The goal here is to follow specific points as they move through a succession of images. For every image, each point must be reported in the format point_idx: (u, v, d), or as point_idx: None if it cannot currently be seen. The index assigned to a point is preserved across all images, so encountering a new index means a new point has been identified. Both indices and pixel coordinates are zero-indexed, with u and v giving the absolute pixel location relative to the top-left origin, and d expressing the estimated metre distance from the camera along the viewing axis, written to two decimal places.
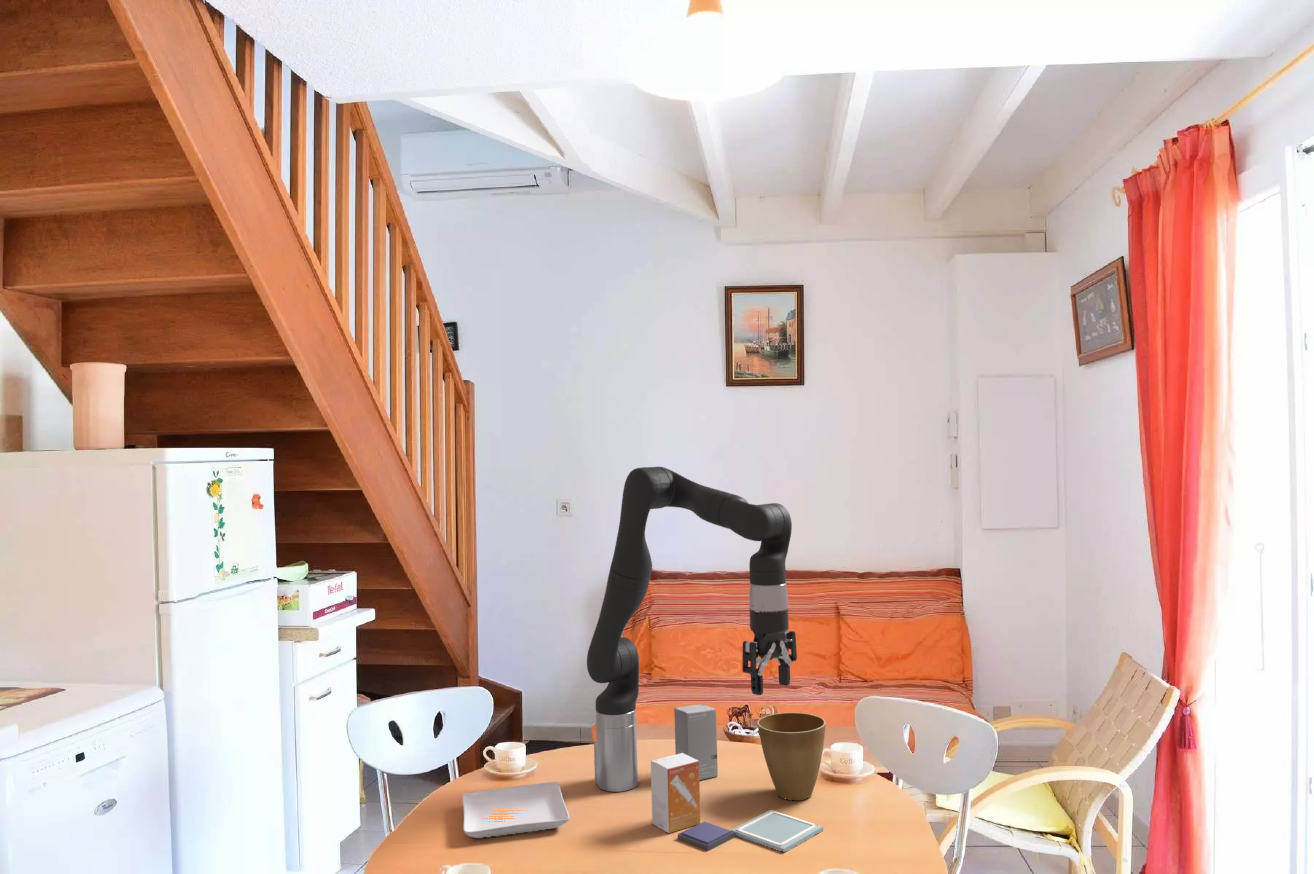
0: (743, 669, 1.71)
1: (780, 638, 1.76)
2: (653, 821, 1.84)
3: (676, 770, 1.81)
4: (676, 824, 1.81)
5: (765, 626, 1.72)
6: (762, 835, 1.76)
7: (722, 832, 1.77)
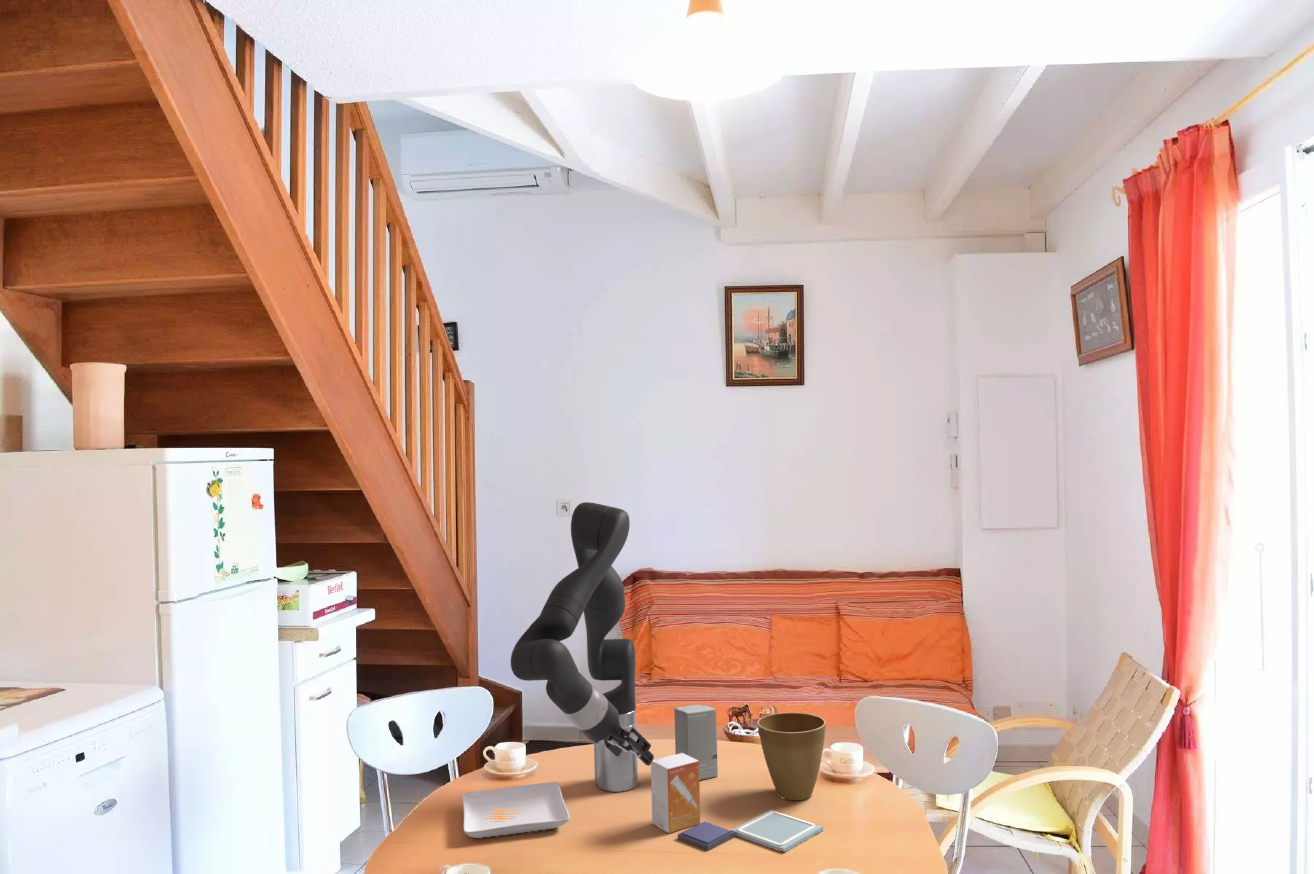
0: None
1: (612, 736, 1.69)
2: (653, 821, 1.84)
3: (676, 770, 1.81)
4: (676, 824, 1.81)
5: None
6: (762, 835, 1.76)
7: (722, 832, 1.77)
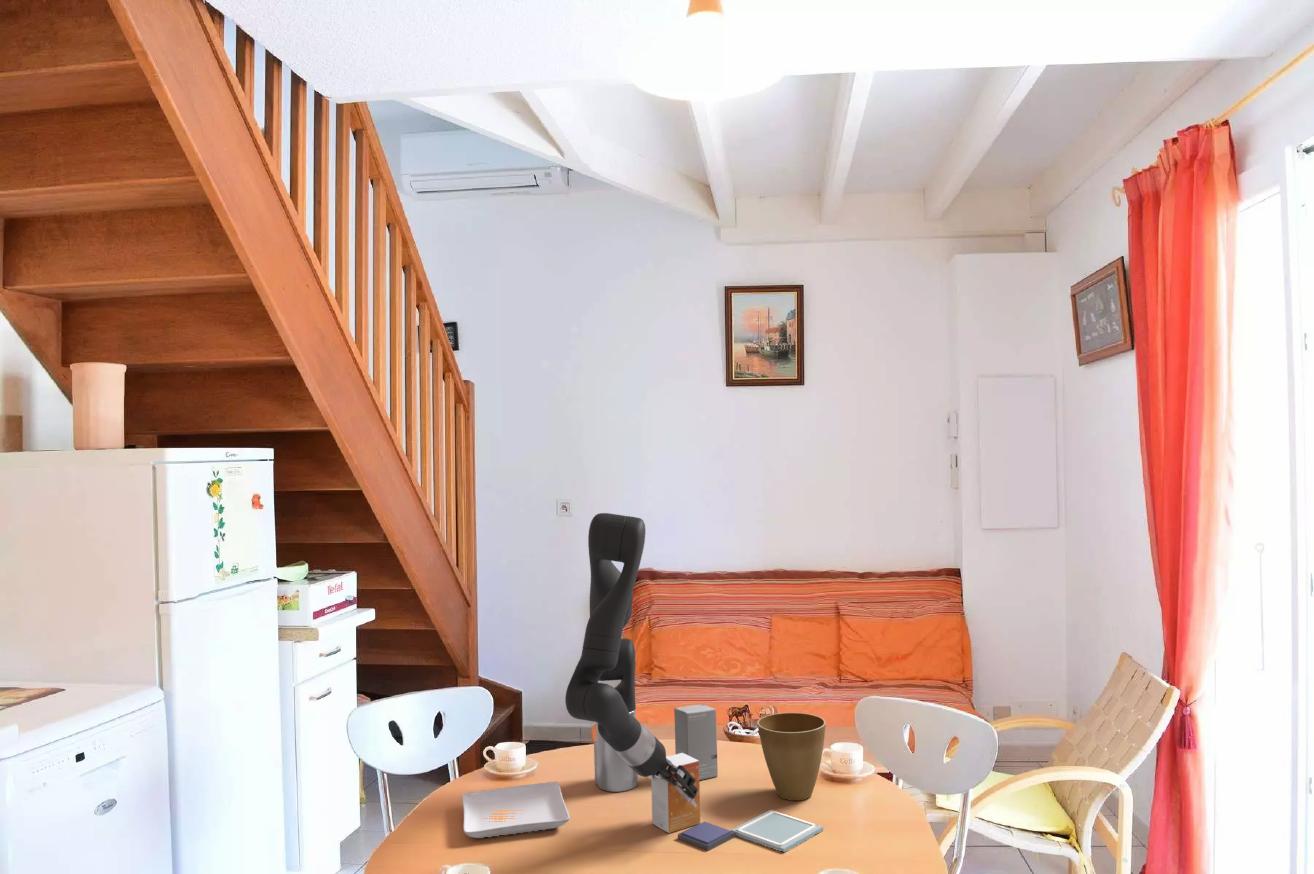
0: None
1: (660, 772, 1.78)
2: (653, 821, 1.84)
3: None
4: (676, 824, 1.81)
5: None
6: (762, 835, 1.76)
7: (722, 832, 1.77)
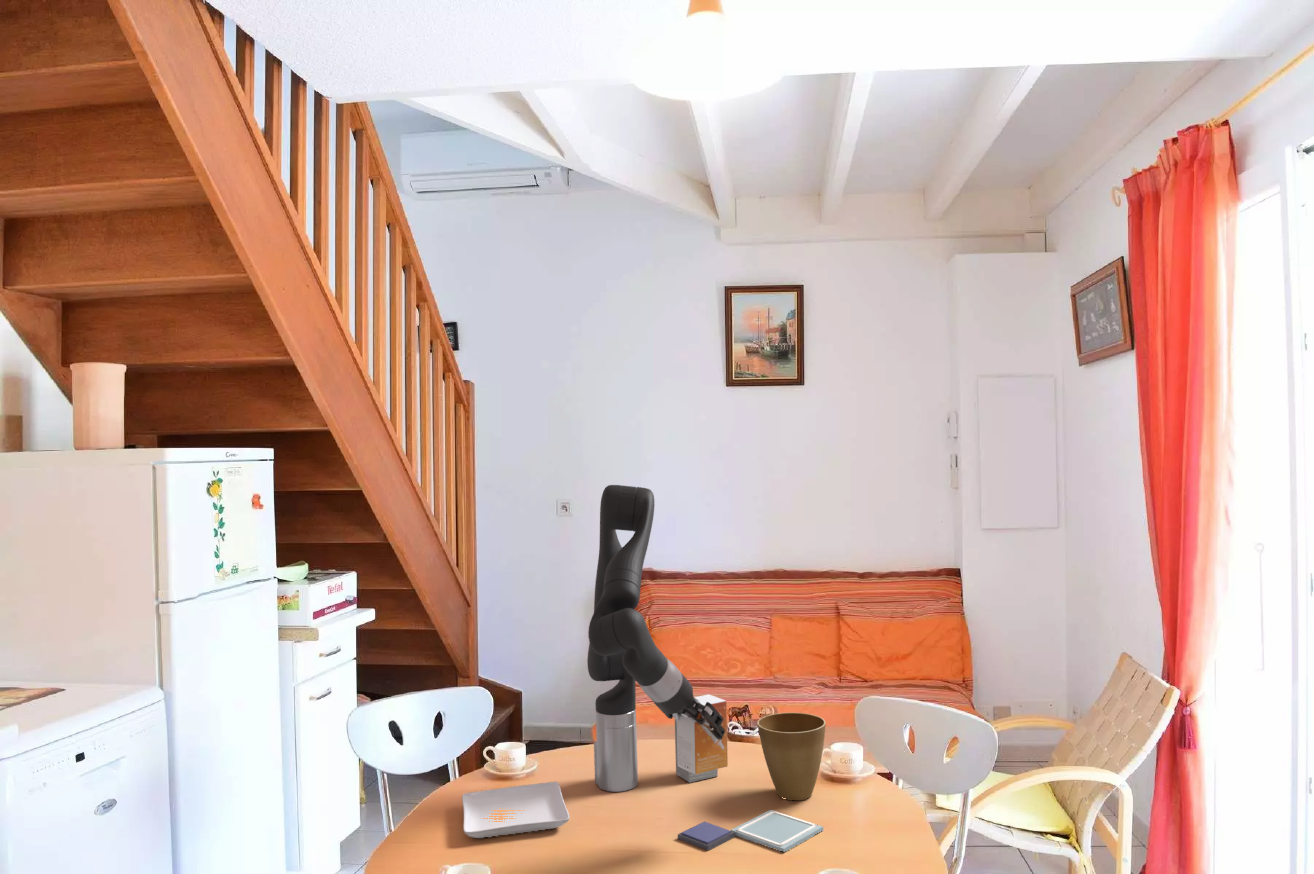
0: None
1: (687, 710, 1.72)
2: (678, 763, 1.77)
3: None
4: (703, 766, 1.74)
5: None
6: (762, 835, 1.76)
7: (722, 832, 1.77)
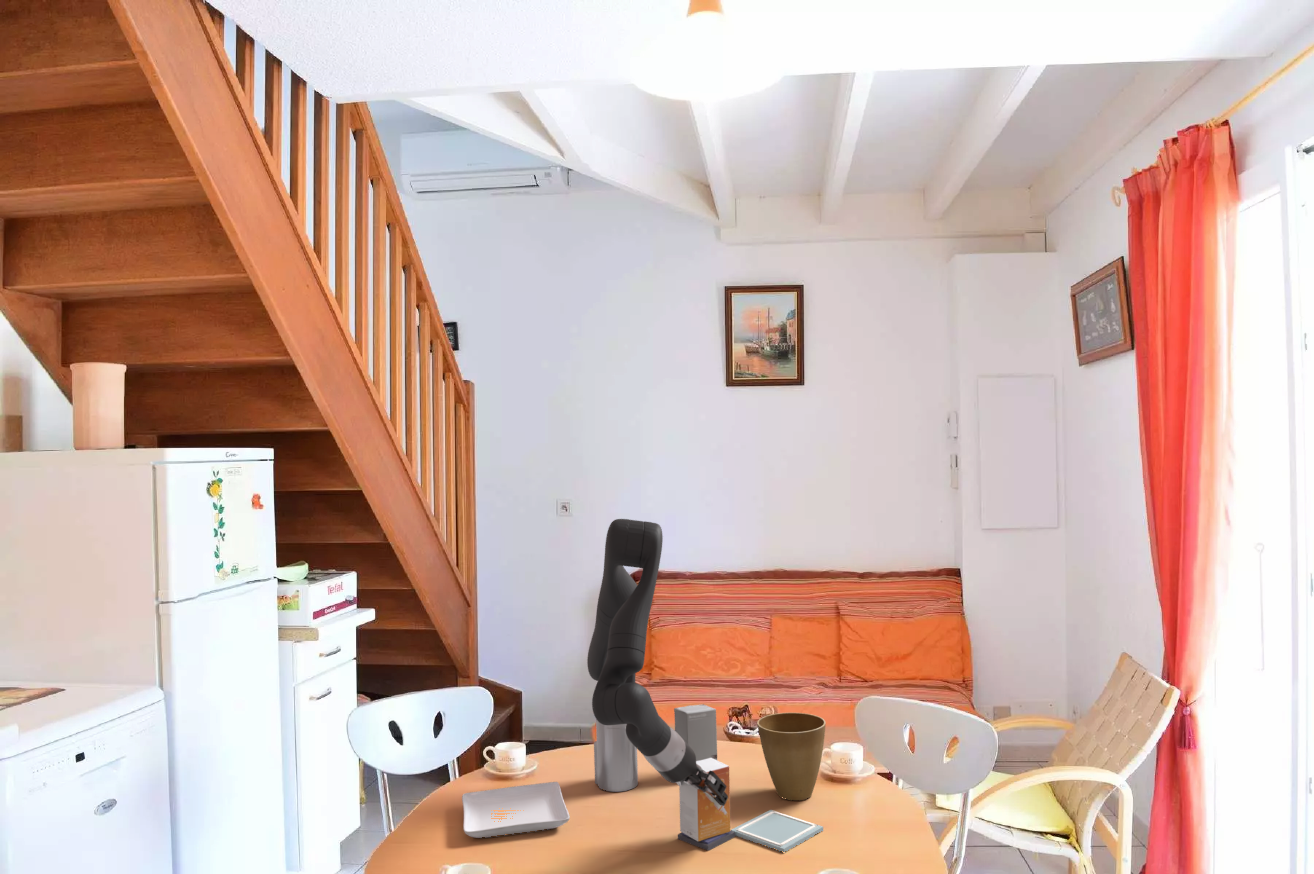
0: None
1: (690, 777, 1.71)
2: (681, 829, 1.77)
3: None
4: (706, 832, 1.74)
5: None
6: (762, 835, 1.76)
7: None
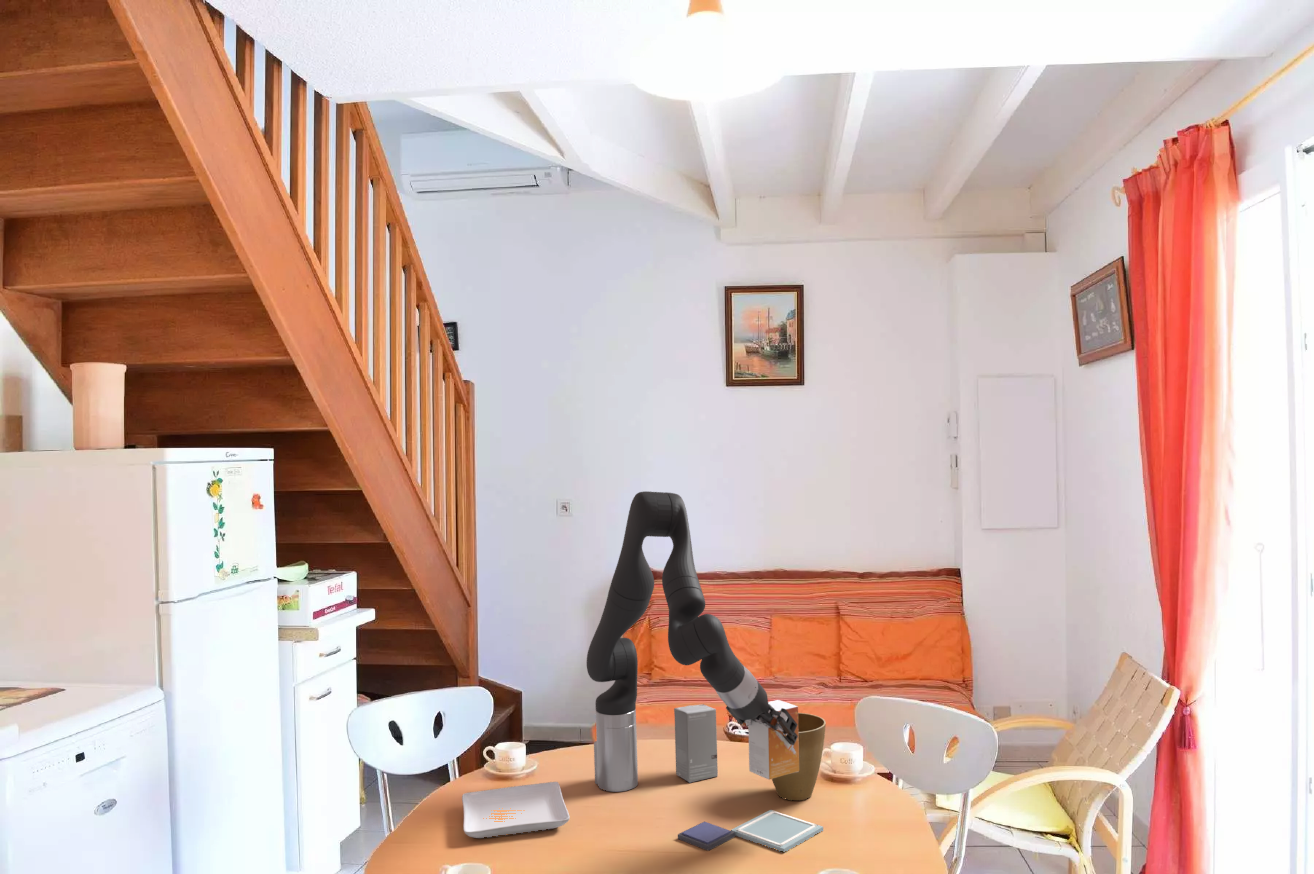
0: None
1: (761, 716, 1.73)
2: (750, 768, 1.79)
3: None
4: (776, 771, 1.75)
5: None
6: (762, 835, 1.76)
7: (722, 832, 1.77)
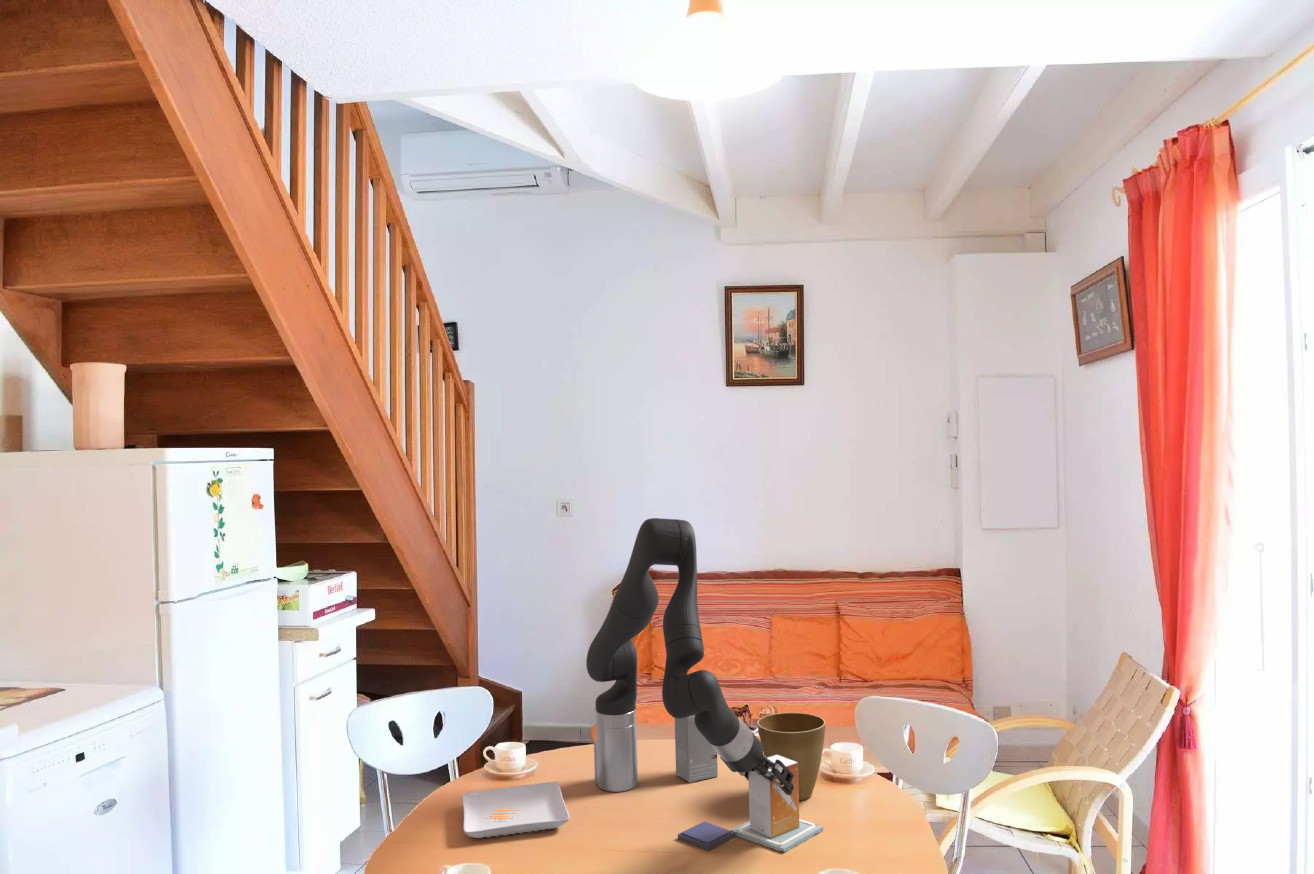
0: None
1: (756, 767, 1.71)
2: (751, 826, 1.78)
3: None
4: (778, 829, 1.75)
5: None
6: (762, 835, 1.76)
7: (722, 832, 1.77)
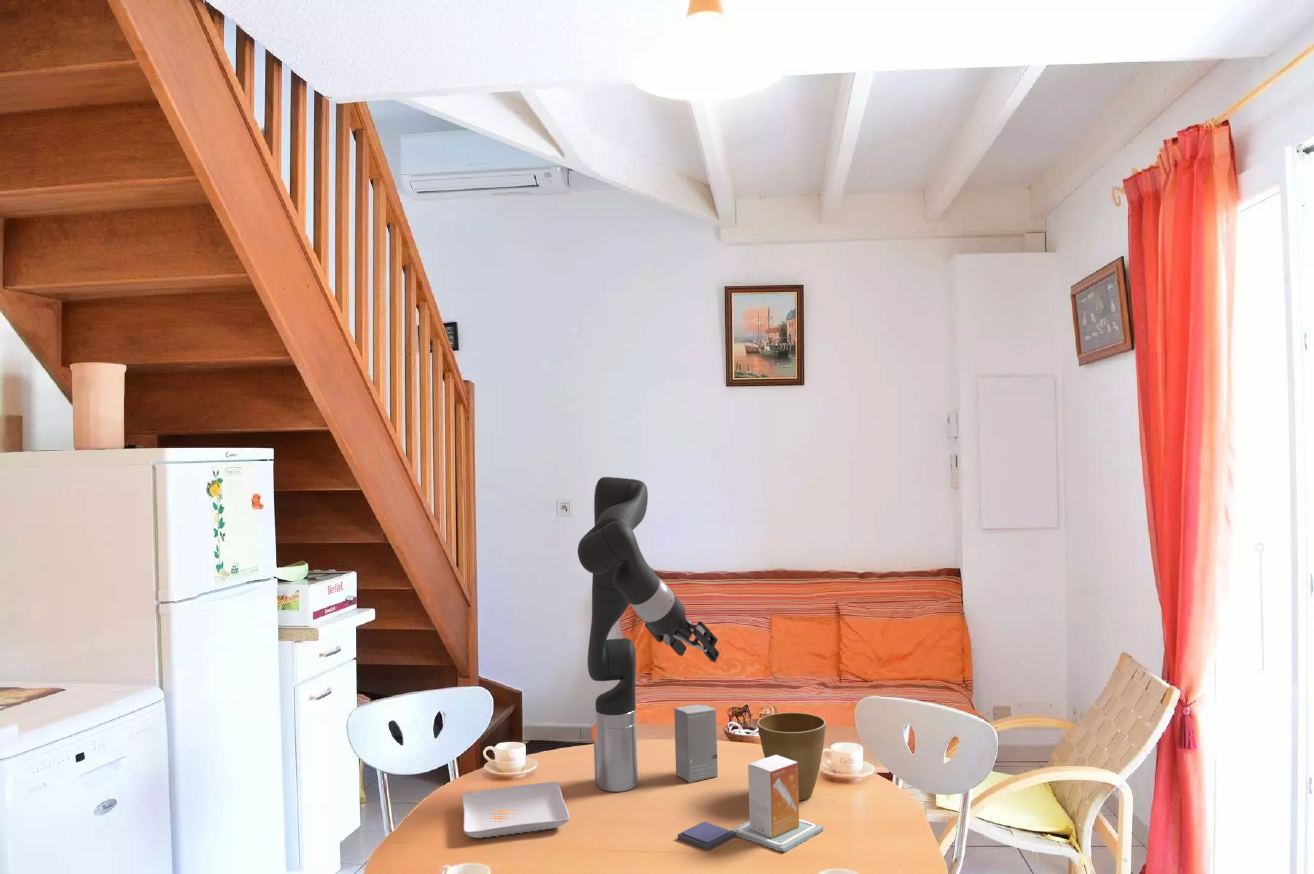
0: None
1: (679, 631, 1.68)
2: (751, 826, 1.78)
3: (778, 772, 1.75)
4: (778, 829, 1.75)
5: None
6: (762, 835, 1.76)
7: (722, 832, 1.77)
